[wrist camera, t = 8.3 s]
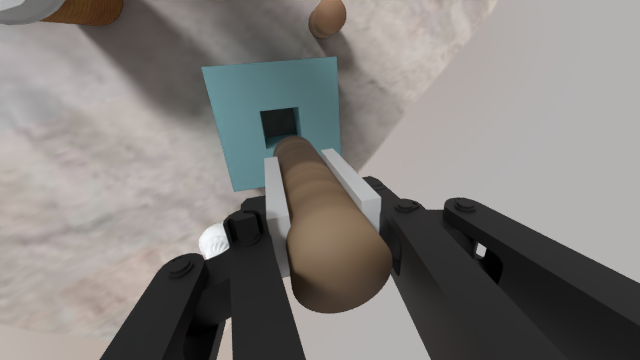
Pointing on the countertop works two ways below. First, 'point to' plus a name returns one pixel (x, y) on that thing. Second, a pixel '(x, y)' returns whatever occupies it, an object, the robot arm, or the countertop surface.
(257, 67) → the hole block
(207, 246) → the white ribbed jar
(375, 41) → the countertop surface
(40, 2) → the disposable coffee cup
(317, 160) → the tall pin
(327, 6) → the short pin
